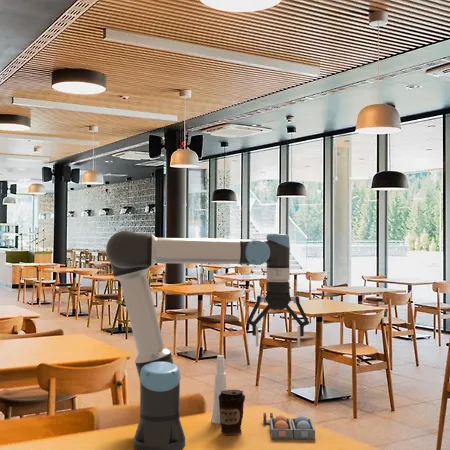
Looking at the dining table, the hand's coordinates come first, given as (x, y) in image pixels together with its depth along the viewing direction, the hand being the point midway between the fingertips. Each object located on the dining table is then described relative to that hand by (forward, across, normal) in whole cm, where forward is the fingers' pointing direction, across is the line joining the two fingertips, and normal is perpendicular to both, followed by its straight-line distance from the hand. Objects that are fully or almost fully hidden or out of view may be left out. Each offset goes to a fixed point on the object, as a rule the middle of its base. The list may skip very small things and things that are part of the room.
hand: (277, 346), depth 200 cm
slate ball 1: (+24, +8, -3) cm, 25 cm away
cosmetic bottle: (+26, -19, +4) cm, 33 cm away
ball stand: (+26, -3, +4) cm, 27 cm away
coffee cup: (+26, -15, -7) cm, 31 cm away
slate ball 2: (+24, +8, -9) cm, 26 cm away
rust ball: (+24, +1, -3) cm, 24 cm away
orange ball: (+24, +1, -9) cm, 25 cm away
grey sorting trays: (+26, +4, -6) cm, 27 cm away
